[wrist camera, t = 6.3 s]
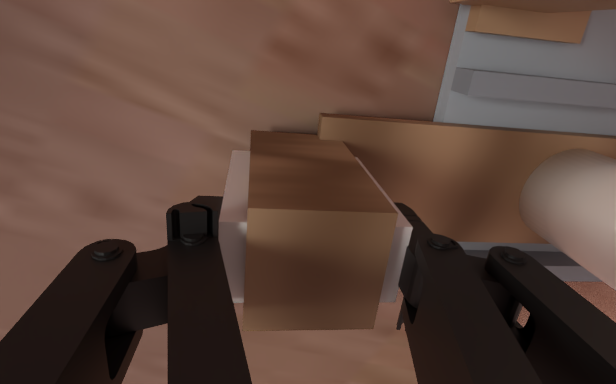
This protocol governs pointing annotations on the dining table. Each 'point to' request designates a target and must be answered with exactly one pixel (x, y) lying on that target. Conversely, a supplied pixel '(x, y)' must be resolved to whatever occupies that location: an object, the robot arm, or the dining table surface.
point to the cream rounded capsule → (575, 208)
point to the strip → (376, 207)
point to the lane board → (533, 81)
